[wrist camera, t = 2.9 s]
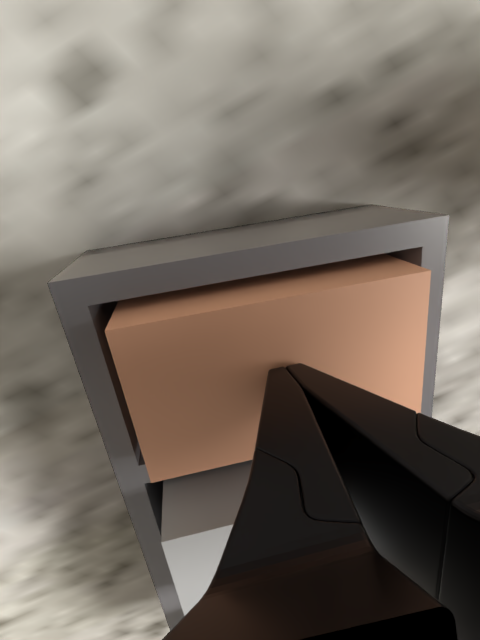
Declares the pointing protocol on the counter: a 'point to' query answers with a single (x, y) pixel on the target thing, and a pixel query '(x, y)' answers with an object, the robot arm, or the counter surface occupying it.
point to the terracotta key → (262, 352)
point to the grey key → (199, 525)
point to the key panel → (208, 268)
